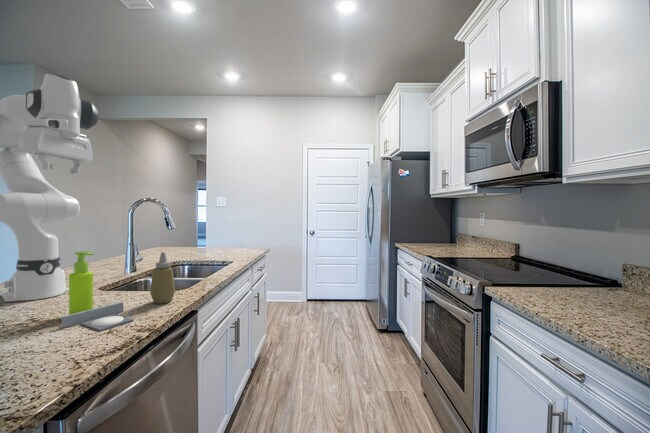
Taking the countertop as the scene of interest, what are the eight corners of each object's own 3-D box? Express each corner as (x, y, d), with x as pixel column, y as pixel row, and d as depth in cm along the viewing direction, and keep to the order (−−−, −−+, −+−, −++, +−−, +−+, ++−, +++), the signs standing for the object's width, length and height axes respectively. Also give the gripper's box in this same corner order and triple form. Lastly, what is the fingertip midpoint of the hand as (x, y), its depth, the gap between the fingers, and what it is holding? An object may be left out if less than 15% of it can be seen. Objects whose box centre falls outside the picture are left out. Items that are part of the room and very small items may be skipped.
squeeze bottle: (176, 297, 116) (176, 250, 115) (174, 303, 108) (174, 253, 108) (152, 299, 113) (152, 251, 112) (148, 306, 105) (148, 254, 105)
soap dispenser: (82, 319, 92) (82, 253, 92) (64, 317, 94) (63, 252, 93) (100, 312, 98) (100, 251, 98) (82, 311, 99) (82, 250, 99)
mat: (80, 324, 88) (80, 322, 88) (114, 315, 96) (114, 313, 96) (99, 331, 83) (99, 329, 83) (133, 321, 91) (133, 319, 91)
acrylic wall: (61, 327, 86) (61, 316, 86) (121, 310, 100) (121, 301, 100) (63, 327, 85) (63, 317, 85) (123, 311, 99) (123, 302, 99)
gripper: (80, 136, 105) (80, 176, 105) (17, 117, 85) (18, 167, 85) (97, 136, 105) (97, 176, 105) (39, 117, 84) (39, 167, 85)
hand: (61, 172), depth 95 cm, fingers open, 8 cm apart
